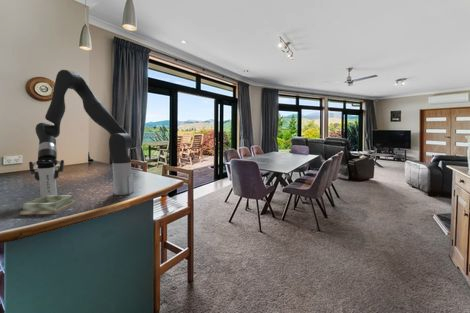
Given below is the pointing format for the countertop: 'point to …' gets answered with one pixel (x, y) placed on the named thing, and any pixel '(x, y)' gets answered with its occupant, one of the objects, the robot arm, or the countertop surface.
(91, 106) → the robot arm
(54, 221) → the countertop surface
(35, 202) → the green square tray
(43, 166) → the travel mug
